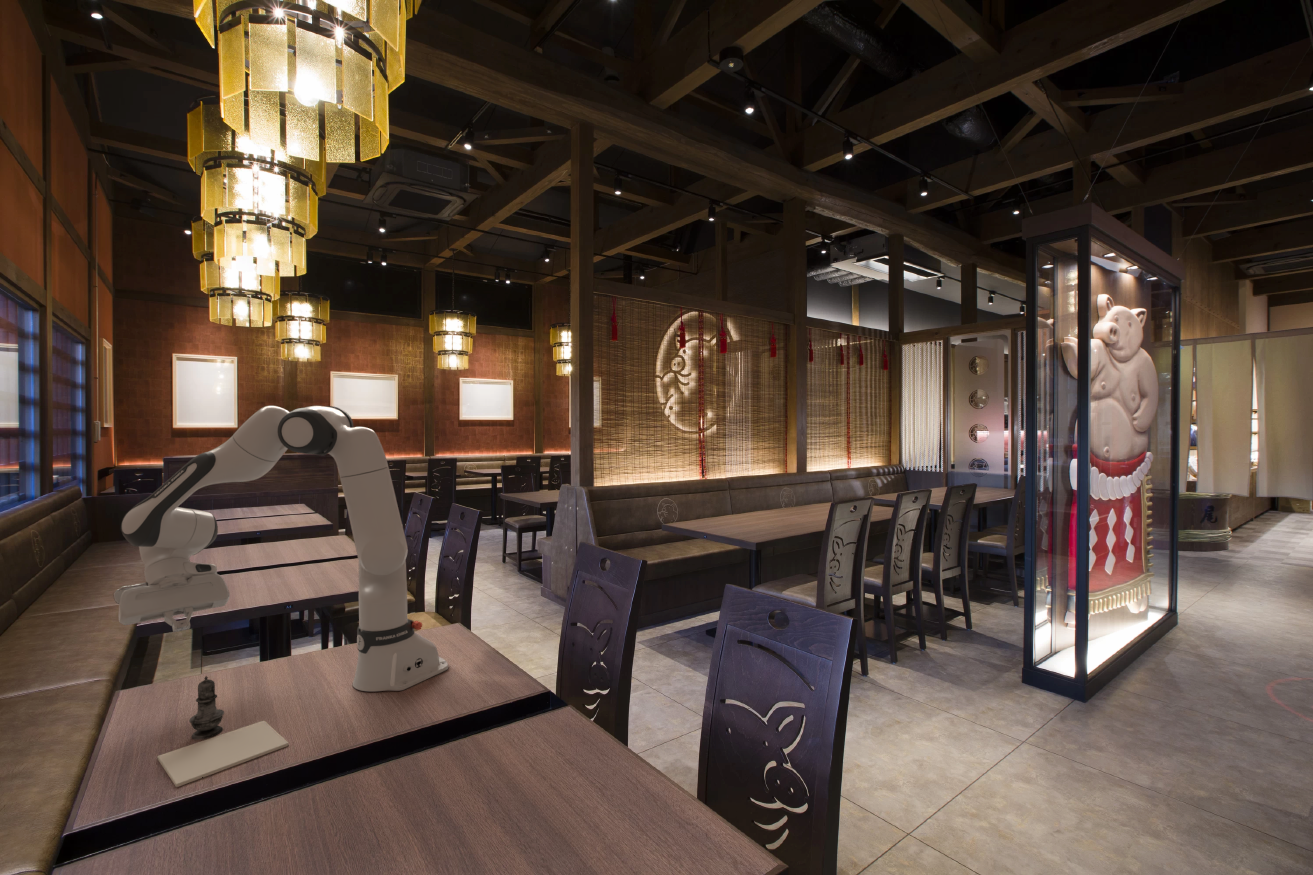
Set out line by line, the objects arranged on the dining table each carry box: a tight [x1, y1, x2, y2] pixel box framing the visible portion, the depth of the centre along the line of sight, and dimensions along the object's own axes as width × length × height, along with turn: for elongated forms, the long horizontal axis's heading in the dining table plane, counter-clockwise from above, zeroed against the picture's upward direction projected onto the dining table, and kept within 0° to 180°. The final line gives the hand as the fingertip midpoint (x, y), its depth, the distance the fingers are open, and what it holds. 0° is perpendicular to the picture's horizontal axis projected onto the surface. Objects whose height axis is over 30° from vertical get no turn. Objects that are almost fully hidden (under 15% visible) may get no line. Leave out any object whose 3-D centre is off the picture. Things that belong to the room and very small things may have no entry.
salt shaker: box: [188, 675, 225, 741], centre depth 126 cm, size 6×6×12 cm
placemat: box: [157, 720, 290, 788], centre depth 119 cm, size 18×14×1 cm
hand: (182, 628), depth 138 cm, fingers closed
